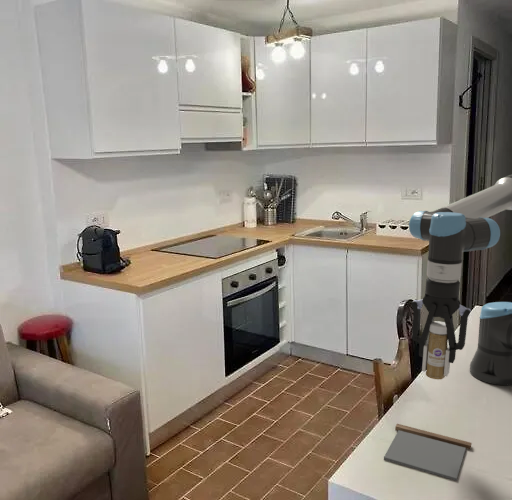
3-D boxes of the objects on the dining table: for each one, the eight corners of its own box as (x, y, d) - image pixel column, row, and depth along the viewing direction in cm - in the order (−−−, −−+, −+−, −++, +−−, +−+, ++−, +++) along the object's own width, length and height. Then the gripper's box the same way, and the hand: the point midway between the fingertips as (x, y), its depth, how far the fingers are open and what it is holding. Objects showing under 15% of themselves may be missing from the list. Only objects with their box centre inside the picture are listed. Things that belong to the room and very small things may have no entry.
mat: (398, 432, 133) (398, 430, 133) (465, 450, 125) (465, 447, 125) (383, 459, 122) (383, 457, 122) (456, 480, 114) (456, 478, 114)
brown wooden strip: (396, 427, 135) (397, 423, 135) (471, 446, 126) (471, 442, 126) (395, 429, 134) (395, 426, 134) (470, 449, 125) (470, 445, 125)
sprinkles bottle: (428, 380, 125) (432, 326, 122) (423, 371, 130) (427, 320, 127) (447, 380, 125) (452, 327, 122) (441, 372, 130) (446, 320, 127)
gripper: (401, 277, 124) (395, 369, 128) (480, 287, 115) (471, 386, 120) (409, 270, 130) (403, 358, 135) (485, 280, 121) (476, 374, 126)
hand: (435, 371), depth 127 cm, fingers closed on sprinkles bottle, 4 cm apart
